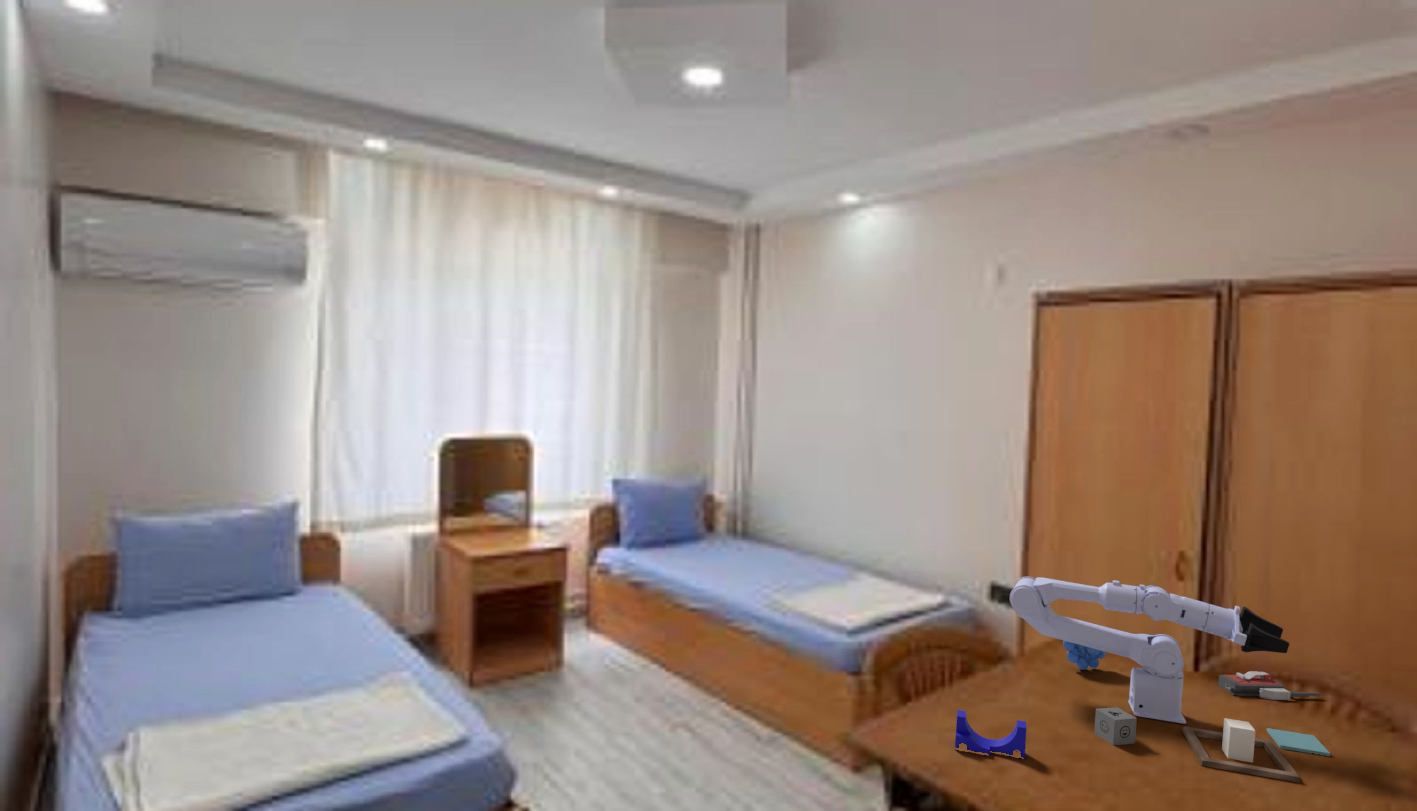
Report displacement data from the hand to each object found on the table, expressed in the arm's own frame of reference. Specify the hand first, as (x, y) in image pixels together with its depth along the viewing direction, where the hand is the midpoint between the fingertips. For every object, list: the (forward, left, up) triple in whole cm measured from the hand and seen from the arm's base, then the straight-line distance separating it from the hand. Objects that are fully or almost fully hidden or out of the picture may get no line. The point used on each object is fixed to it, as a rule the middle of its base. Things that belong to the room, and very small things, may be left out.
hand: (1284, 640), depth 158 cm
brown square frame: (-10, -12, -20) cm, 25 cm away
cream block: (-10, -12, -20) cm, 25 cm away
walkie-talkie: (+6, +27, -20) cm, 34 cm away
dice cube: (-31, -14, -20) cm, 39 cm away
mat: (+3, -1, -20) cm, 20 cm away
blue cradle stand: (-54, -30, -20) cm, 65 cm away
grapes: (-32, +23, -20) cm, 44 cm away
